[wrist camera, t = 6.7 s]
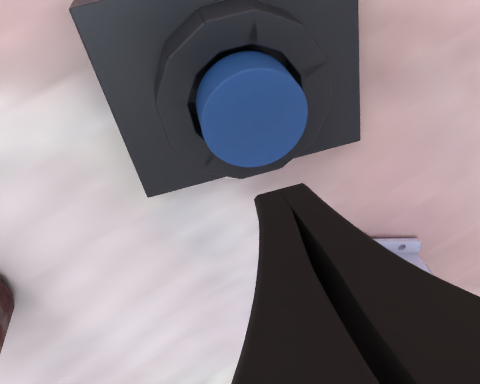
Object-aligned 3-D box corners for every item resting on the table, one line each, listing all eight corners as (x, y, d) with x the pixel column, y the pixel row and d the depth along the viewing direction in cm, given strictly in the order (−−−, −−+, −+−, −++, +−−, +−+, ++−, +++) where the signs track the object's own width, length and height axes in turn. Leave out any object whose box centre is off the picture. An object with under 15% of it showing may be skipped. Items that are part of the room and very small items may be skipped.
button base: (342, -68, 17) (382, -59, 14) (349, 127, 22) (378, 161, 20) (73, -1, 16) (59, 22, 14) (147, 181, 22) (148, 224, 19)
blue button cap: (287, 38, 16) (302, 55, 14) (298, 130, 18) (313, 153, 17) (183, 65, 16) (188, 85, 14) (208, 154, 18) (215, 179, 17)
